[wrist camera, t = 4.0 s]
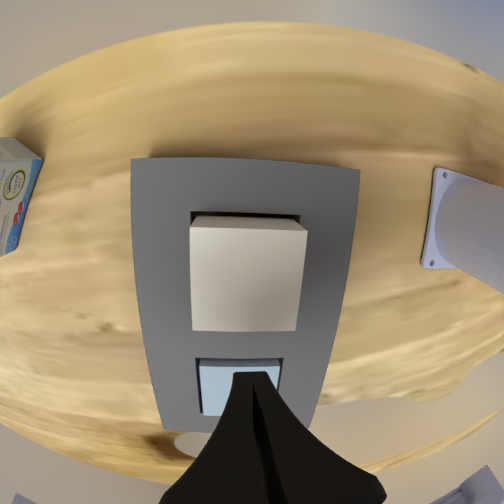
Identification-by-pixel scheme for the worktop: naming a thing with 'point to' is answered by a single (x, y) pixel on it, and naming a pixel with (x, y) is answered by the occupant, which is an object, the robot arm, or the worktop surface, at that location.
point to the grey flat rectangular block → (178, 273)
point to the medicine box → (15, 189)
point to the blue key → (228, 379)
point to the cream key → (246, 273)
